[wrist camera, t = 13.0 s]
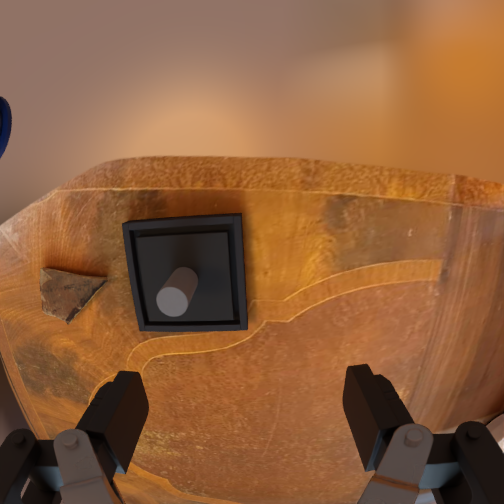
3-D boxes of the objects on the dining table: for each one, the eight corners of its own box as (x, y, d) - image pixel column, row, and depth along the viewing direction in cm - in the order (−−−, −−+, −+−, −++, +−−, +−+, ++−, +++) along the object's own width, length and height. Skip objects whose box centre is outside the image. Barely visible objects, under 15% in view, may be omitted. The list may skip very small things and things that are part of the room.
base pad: (128, 220, 34) (121, 223, 32) (241, 212, 33) (241, 215, 31) (144, 323, 37) (139, 331, 35) (247, 322, 37) (247, 330, 35)
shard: (112, 276, 35) (106, 281, 33) (113, 330, 37) (108, 337, 35) (44, 263, 35) (37, 267, 33) (49, 314, 37) (43, 319, 35)
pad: (139, 235, 33) (113, 251, 26) (228, 229, 33) (222, 245, 26) (151, 316, 36) (132, 347, 29) (234, 315, 36) (230, 348, 29)
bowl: (444, 477, 49) (455, 499, 41) (460, 427, 44) (477, 453, 36) (509, 439, 48) (523, 456, 40) (531, 381, 42) (550, 400, 34)
